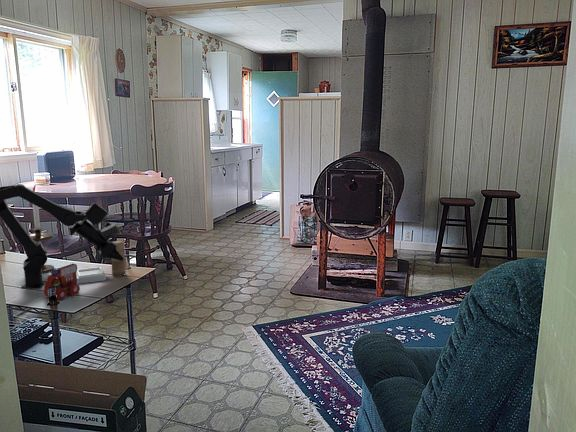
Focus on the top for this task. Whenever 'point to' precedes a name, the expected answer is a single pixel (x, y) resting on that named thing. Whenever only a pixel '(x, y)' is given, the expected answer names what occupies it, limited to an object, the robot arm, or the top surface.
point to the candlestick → (40, 235)
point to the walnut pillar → (119, 265)
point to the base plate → (90, 275)
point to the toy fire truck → (63, 281)
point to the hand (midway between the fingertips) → (121, 258)
